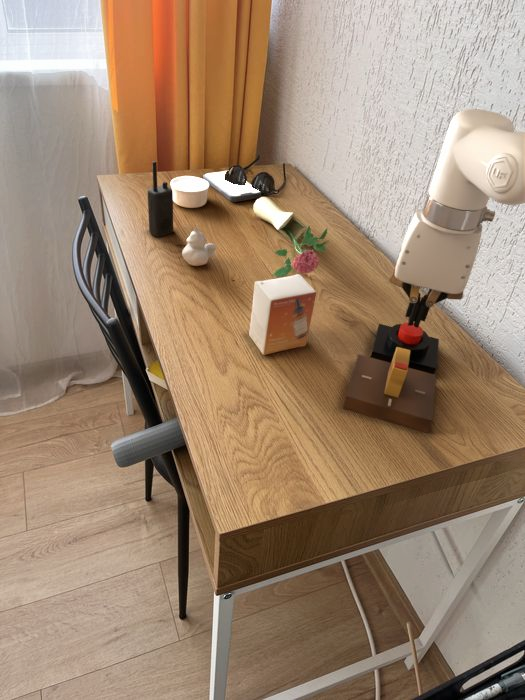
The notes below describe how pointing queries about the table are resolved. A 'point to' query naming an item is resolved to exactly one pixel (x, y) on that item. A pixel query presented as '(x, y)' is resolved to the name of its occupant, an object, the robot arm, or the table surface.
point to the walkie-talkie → (160, 207)
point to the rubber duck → (198, 249)
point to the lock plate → (405, 409)
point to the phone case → (231, 187)
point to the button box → (420, 354)
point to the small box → (281, 313)
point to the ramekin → (189, 191)
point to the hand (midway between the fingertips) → (413, 321)
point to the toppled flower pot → (291, 236)
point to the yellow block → (397, 372)
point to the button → (410, 334)
